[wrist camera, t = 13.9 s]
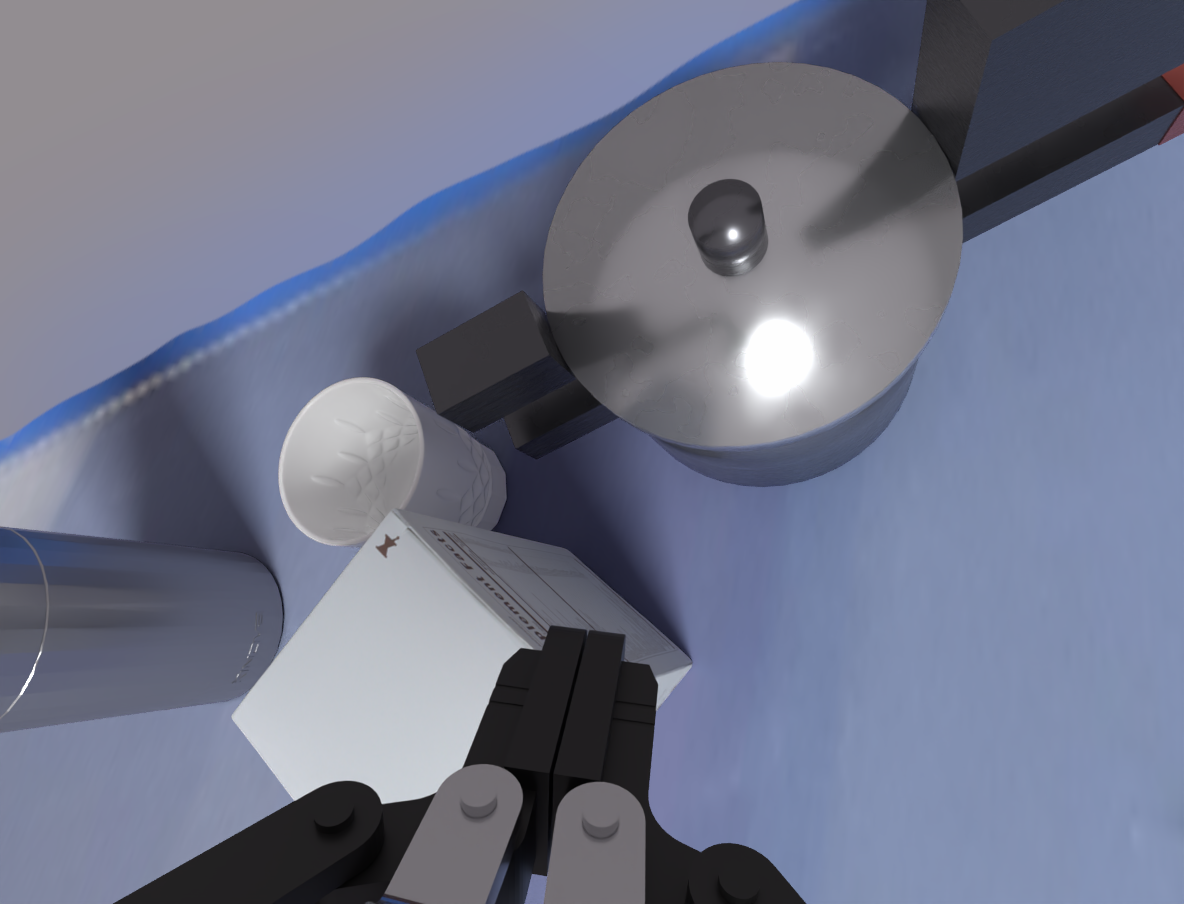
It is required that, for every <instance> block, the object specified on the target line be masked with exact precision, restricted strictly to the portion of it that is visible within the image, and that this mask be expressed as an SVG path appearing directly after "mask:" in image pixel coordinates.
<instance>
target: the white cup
mask: <svg viewBox="0 0 1184 904" xmlns="http://www.w3.org/2000/svg"><path fill="white" fill-rule="evenodd" d="M278 479H279V489H280V494H281V498H282V502H283V505H284V507H285V509H286V512H287V513H288V515H289V517H290V519H291V520H292V522H293V523H294V524H295V525H296V526H297V528H298V529H299V530H300V531H302V532H303V533H304V534H305V535H307V536H308V537H310V538H311V539H313V540H315V541H317V542H320V543H323V544H326V545H332V546H344V547H359V548H362V546H363V545H364V544H365V542H366V541H367V540H368V539H369V537H370V536H371V535H372V533H373V532H374V531H375V530H376V528H377V527H378V526H379V525H380V523H381V522H382V521H383V520H384V518H385V517H386V516H387V515H388V514H389V512H390V511H391V510H392V509H394V508H397V509H402V510H406V511H410V512H415V513H419V514H423V515H427V516H431V517H435V518H440V519H444V520H448V521H452V522H457V523H461V524H465V525H469V526H472V527H477V528H481V529H484V530H488V531H491V530H492V529H493V528H494V527H495V526H496V525H497V523H498V521H499V518H500V516H501V513H502V510H503V508H504V505H505V502H506V499H507V494H506V474H505V471H504V469H503V468H502V466H501V464H500V462H499V460H498V458H497V456H496V454H495V453H494V451H492V450H491V449H489V448H488V447H486V446H485V445H483V444H482V443H480V442H479V441H477V440H476V439H474V438H472V437H471V436H470V435H469V434H468V433H467V432H466V431H465V430H464V429H462V428H460V427H459V426H457V425H456V424H455V423H453V422H451V421H449V420H447V419H445V418H443V417H441V416H439V415H437V412H436V411H434V410H432V409H431V408H429V407H428V406H426V405H424V404H423V403H421V402H419V401H418V400H416V399H414V398H413V397H411V396H409V395H408V394H406V393H404V392H403V391H401V390H400V389H398V388H396V387H395V386H393V385H391V384H390V383H387V382H385V381H383V380H379V379H375V378H369V377H357V378H350V379H346V380H343V381H340V382H337V383H335V384H333V385H331V386H329V387H327V388H325V389H324V390H322V391H321V392H319V393H318V394H317V395H316V396H314V397H313V398H312V399H311V400H310V401H309V402H308V403H307V404H306V405H305V406H304V407H303V409H302V410H301V411H300V412H299V414H298V415H297V417H296V418H295V420H294V421H293V423H292V425H291V427H290V429H289V431H288V433H287V435H286V438H285V440H284V443H283V447H282V450H281V455H280V460H279V471H278Z"/></svg>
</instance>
